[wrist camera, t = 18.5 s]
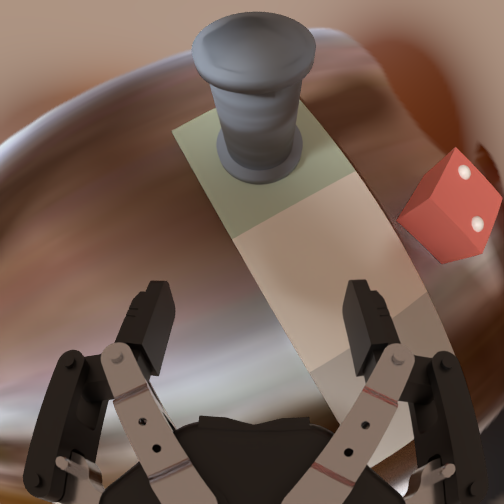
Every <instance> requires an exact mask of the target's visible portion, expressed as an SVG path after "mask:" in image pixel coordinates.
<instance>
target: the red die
mask: <svg viewBox="0 0 504 504" xmlns="http://www.w3.org/2000/svg"><path fill="white" fill-rule="evenodd" d="M501 201H502V197H501V196H500V194H499V193H498V192H497V191H496V190H495V188H494V187H493V186H492V185H491V184H490V183H489V181H488V180H487V179H486V178H485V177H484V176H483V175H482V174H481V173H480V171H479V170H478V169H477V168H476V167H475V166H474V165H473V164H472V163H471V162H470V161H469V160H468V159H467V158H466V157H465V156H464V155H463V154H462V153H461V152H460V151H459V150H458V149H457V148H456V147H455V148H454V149H453V150H452V151H451V152H450V153H449V154H447V155H446V156H445V157H444V158H443V159H442V160H441V161H440V162H438V163H437V164H436V165H435V166H434V167H433V168H432V169H431V170H429V171H428V172H427V173H426V174H425V175H424V176H423V178H422V179H421V181H420V183H419V184H418V186H417V188H416V189H415V191H414V193H413V194H412V196H411V198H410V199H409V201H408V203H407V204H406V206H405V207H404V209H403V211H402V212H401V214H400V215H399V217H398V218H397V220H396V221H397V222H398V223H400V224H401V225H402V226H403V227H404V228H405V229H406V230H407V231H408V232H409V233H410V234H411V235H413V236H414V237H415V238H416V239H417V240H418V241H419V242H420V243H421V244H422V245H423V246H424V247H425V248H426V249H427V250H428V251H429V252H430V253H431V254H432V255H433V256H434V257H435V258H436V259H437V260H438V261H439V262H440V263H441V264H444V263H448V262H452V261H456V260H460V259H464V258H468V257H472V256H476V255H479V254H482V253H483V250H484V248H485V246H486V243H487V241H488V238H489V236H490V233H491V230H492V228H493V225H494V222H495V219H496V217H497V214H498V211H499V208H500V205H501Z"/></svg>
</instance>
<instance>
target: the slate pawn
mask: <svg viewBox="0 0 504 504" xmlns="http://www.w3.org/2000/svg"><path fill="white" fill-rule="evenodd" d="M315 50H316V43H315V40H314V37H313V35H312V34H311V32H310V31H309V30H308V29H307V28H306V27H305V26H303V25H302V24H300V23H299V22H297V21H295V20H293V19H291V18H289V17H286V16H283V15H279V14H275V13H268V12H245V13H238V14H233V15H230V16H226V17H224V18H221V19H219V20H217V21H215V22H213V23H211V24H209V25H208V26H206V27H205V28H204V29H203V30H202V31H201V32H200V33H199V34H198V35H197V36H196V38H195V40H194V42H193V45H192V56H193V59H194V63H195V66H196V69H197V71H198V73H199V75H200V76H201V77H202V78H203V79H204V80H205V81H206V82H208V83H209V84H210V87H211V91H212V95H213V98H214V102H215V106H216V110H217V113H218V117H219V121H220V125H221V129H220V131H219V133H218V137H217V142H216V148H217V153H218V156H219V159H220V162H221V164H222V166H223V167H224V168H225V170H226V171H227V172H228V173H229V174H230V175H231V176H233V177H234V178H236V179H238V180H240V181H242V182H245V183H249V184H255V185H263V184H270V183H274V182H277V181H279V180H281V179H283V178H285V177H287V176H288V175H289V174H290V173H291V172H292V171H293V170H294V169H295V168H296V166H297V165H298V163H299V160H300V157H301V153H302V148H303V140H302V135H301V132H300V130H299V128H298V127H297V125H296V120H297V113H298V106H299V99H300V92H301V85H302V79H303V78H304V77H305V76H306V75H307V74H308V73H309V72H310V70H311V68H312V66H313V63H314V57H315Z"/></svg>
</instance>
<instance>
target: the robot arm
mask: <svg viewBox="0 0 504 504" xmlns="http://www.w3.org/2000/svg"><path fill="white" fill-rule="evenodd" d="M342 314H343V320H344V324H345V328H346V332H347V337H348V341H349V346H350V350H351V355H352V359H353V364H354V369H355V374H356V377H359V376H364V378H365V383H366V384H365V386H364V388H363V390H362V391H361V393H360V395H359V396H358V398H357V400H356V401H355V403H354V405H353V406H352V408H351V409H350V411H349V413H348V414H347V416H346V417H345V419H344V420H343V422H342V423H341V425H340V426H339V428H338V429H337V431H336V432H335V434H334V433H333V432H331V431H330V430H328V429H326V428H324V427H321V426H318V425H315V424H310V421H309V417H303V418H282V419H278V420H273V421H269V422H265V423H261V424H255V425H252V424H248V423H244V422H240V421H237V420H233V419H230V418H226V417H211V416H199V422H195V423H191V424H188V425H185V426H183V427H181V428H179V429H177V428H176V426H175V425H174V423H173V422H172V420H171V419H170V417H169V415H168V414H167V412H166V410H165V408H164V407H163V405H162V403H161V401H160V399H159V398H158V396H157V394H156V392H155V390H154V388H153V386H152V384H151V383H150V381H149V379H150V376H151V375H153V376H159V374H160V370H161V366H162V362H163V358H164V354H165V351H166V347H167V343H168V340H169V336H170V332H171V329H172V325H173V322H174V318H175V304H174V301H173V297H172V294H171V290H170V287H169V283H168V282H167V281H150V283H149V285H148V287H147V290H146V292H140V293H139V294H138V295H137V296H136V297H135V298H134V299H133V300H132V303H131V305H130V307H129V310H128V312H127V314H126V317H125V319H124V321H123V323H122V326H121V328H120V331H119V333H118V335H117V338H116V340H115V343H113V344H111V345H109V346H107V347H106V348H105V349H104V351H103V352H102V354H99V355H93V356H87V357H84V356H83V355H82V354H81V352H79V351H77V350H70V351H67V352H65V353H64V354H63V355H62V356H61V357H60V358H59V360H58V362H57V365H56V367H55V370H54V372H53V375H52V378H51V380H50V383H49V386H48V389H47V391H46V394H45V397H44V400H43V403H42V406H41V409H40V412H39V415H38V419H37V422H36V425H35V429H34V432H33V436H32V440H31V443H30V447H29V451H28V455H27V460H26V464H25V469H24V473H23V482H24V485H25V488H26V489H27V491H28V492H29V493H30V494H31V495H33V496H35V497H37V498H40V499H43V500H46V501H49V502H51V503H55V504H479V503H480V502H481V501H482V500H483V498H484V497H485V495H486V493H487V490H488V477H487V470H486V465H485V458H484V453H483V447H482V442H481V437H480V433H479V428H478V424H477V420H476V416H475V412H474V408H473V405H472V401H471V398H470V394H469V391H468V388H467V384H466V381H465V378H464V375H463V372H462V369H461V366H460V363H459V361H458V359H457V358H456V356H455V355H454V354H452V353H451V352H448V351H439V352H437V353H436V354H435V355H434V356H433V358H429V357H423V356H417V355H414V354H413V352H412V351H411V350H410V349H409V348H408V347H407V346H405V345H403V344H401V342H400V340H399V337H398V334H397V331H396V328H395V326H394V323H393V320H392V318H391V316H390V313H389V310H388V309H387V305H386V302H385V300H384V298H383V297H382V296H381V295H380V294H379V292H378V291H377V290H373V291H371V290H370V288H369V285H368V282H367V280H366V279H358V280H349V281H348V285H347V289H346V293H345V297H344V301H343V307H342ZM111 399H115V400H113V404H114V407H115V410H116V412H117V415H118V417H119V419H120V422H121V424H122V426H123V428H124V431H125V433H126V435H127V437H128V439H129V441H130V443H131V445H132V447H133V449H134V451H135V453H136V455H137V457H138V459H139V462H138V463H137V464H136V465H134V466H133V467H132V468H131V469H130V470H128V471H127V472H126V473H125V474H123V475H122V476H121V477H120V478H118V479H117V480H116V481H115V482H113V483H112V484H111V485H110V486H108V487H107V488H106V489H104V487H103V485H102V474H101V471H100V469H99V467H98V466H97V465H96V464H95V461H96V455H97V450H98V445H99V440H100V435H101V431H102V426H103V422H104V417H105V413H106V409H107V405H108V401H109V400H111ZM398 401H403V402H408V406H409V411H410V417H411V422H412V428H413V435H414V441H415V449H416V456H417V465H418V469H417V470H415V471H414V472H413V474H412V475H411V477H410V479H409V486H408V491H407V493H406V494H405V496H404V497H402V496H401V495H400V494H399V493H398V492H397V491H396V490H395V489H394V488H392V487H391V486H390V485H389V484H388V483H387V482H386V481H385V480H383V479H382V478H381V477H380V476H379V475H378V474H377V473H376V472H375V471H373V470H372V469H371V468H370V467H369V466H368V465H367V463H368V462H369V460H370V458H371V457H372V455H373V453H374V452H375V450H376V448H377V446H378V445H379V443H380V441H381V439H382V437H383V436H384V434H385V432H386V430H387V428H388V426H389V424H390V422H391V420H392V418H393V416H394V414H395V412H396V410H397V408H398Z"/></svg>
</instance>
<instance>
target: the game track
mask: <svg viewBox="0 0 504 504" xmlns="http://www.w3.org/2000/svg"><path fill="white" fill-rule="evenodd" d="M296 125H297V127H298V128H299V130H300V132H301V135H302V140H303V148H302V153H301V157H300V160H299V163H298V165H297V166H296V168H295V169H294V170H293V171H292V172H291V173H290V174H289V175H288V176H287V177H285V178H283V179H281V180H279V181H277V182H274V183H270V184H263V185H255V184H249V183H245V182H242V181H240V180H238V179H236V178H234V177H233V176H231V175H230V174H229V173H228V172H227V171H226V170H225V168H224V167H223V166H222V164H221V162H220V159H219V156H218V153H217V148H216V142H217V137H218V133H219V131H220V129H221V125H220V121H219V117H218V113H217V110H216V108H214V109H212V110H210V111H208V112H206V113H204V114H202V115H200V116H198V117H196V118H195V119H193V120H191V121H189V122H187V123H185V124H183V125H182V126H180V127H178V128H176V129H174V130H173V131H171V132H172V133H173V135H174V137H175V139H176V141H177V142H178V144H179V146H180V148H181V150H182V151H183V153H184V155H185V157H186V159H187V160H188V162H189V164H190V166H191V168H192V169H193V171H194V173H195V175H196V177H197V178H198V180H199V182H200V184H201V186H202V187H203V189H204V191H205V193H206V194H207V196H208V198H209V200H210V202H211V203H212V205H213V207H214V209H215V210H216V212H217V214H218V216H219V218H220V219H221V221H222V223H223V225H224V226H225V228H226V230H227V232H228V233H229V235H230V237H231V239H232V240H233V242H234V244H235V246H236V247H237V249H238V251H239V253H240V255H241V256H242V258H243V260H244V262H245V263H246V265H247V267H248V269H249V270H250V272H251V274H252V275H253V277H254V279H255V281H256V282H257V284H258V286H259V288H260V289H261V291H262V293H263V295H264V296H265V298H266V300H267V302H268V303H269V305H270V307H271V308H272V310H273V312H274V314H275V315H276V317H277V319H278V321H279V322H280V324H281V326H282V327H283V329H284V331H285V333H286V334H287V336H288V338H289V339H290V341H291V343H292V345H293V346H294V348H295V350H296V351H297V353H298V355H299V357H300V358H301V360H302V362H303V363H304V365H305V367H306V368H307V370H308V372H309V374H310V375H311V377H312V379H313V380H314V382H315V384H316V385H317V387H318V389H319V390H320V392H321V394H322V396H323V397H324V399H325V401H326V402H327V404H328V406H329V407H330V409H331V411H332V412H333V414H334V416H335V417H336V419H337V421H338V422H339V424H340V425H341V423H342V422H343V420H344V419H345V417H346V416H347V414H348V413H349V411H350V409H351V408H352V406H353V405H354V403H355V401H356V400H357V398H358V396H359V395H360V393H361V391H362V390H363V388H364V386H365V384H366V383H365V378H364V376H359V377H356V374H355V369H354V364H353V359H352V355H351V350H350V346H349V341H348V337H347V332H346V328H345V324H344V320H343V314H342V307H343V301H344V297H345V293H346V289H347V285H348V281H349V280H358V279H366V280H367V282H368V285H369V288H370V290H371V291H373V290H377V291H378V292H379V294H380V295H381V296H382V297H383V298H384V300H385V302H386V305H387V309H388V310H389V313H390V316H391V318H392V320H393V323H394V326H395V328H396V331H397V334H398V337H399V340H400V342H401V344H403V345H405V346H407V347H408V348H409V349H410V350H411V351H412V352H413V354H414V355H417V356H423V357H429V358H433V356H434V355H435V354H436V353H437V352H439V351H448V352H451V353H452V354H454V352H453V349H452V347H451V344H450V341H449V339H448V337H447V334H446V332H445V329H444V327H443V325H442V322H441V320H440V318H439V316H438V313H437V311H436V309H435V307H434V305H433V303H432V300H431V298H430V296H429V294H428V292H427V290H426V288H425V286H424V284H423V282H422V280H421V278H420V276H419V274H418V272H417V270H416V268H415V266H414V265H413V263H412V261H411V259H410V257H409V255H408V254H407V252H406V250H405V248H404V246H403V245H402V243H401V241H400V239H399V238H398V236H397V234H396V233H395V231H394V229H393V227H392V226H391V224H390V223H389V221H388V219H387V218H386V216H385V214H384V213H383V211H382V210H381V208H380V206H379V205H378V203H377V202H376V200H375V199H374V197H373V196H372V194H371V193H370V191H369V190H368V188H367V187H366V185H365V184H364V182H363V181H362V179H361V178H360V176H359V175H358V173H357V172H356V171H355V169H354V168H353V166H352V165H351V164H350V162H349V161H348V160H347V158H346V157H345V155H344V154H343V153H342V151H341V150H340V149H339V147H338V146H337V145H336V143H335V142H334V141H333V140H332V138H331V137H330V136H329V134H328V133H327V132H326V131H325V129H324V128H323V127H322V126H321V124H320V123H319V122H318V121H317V119H316V118H315V117H314V116H313V115H312V113H311V112H310V111H309V110H308V109H307V107H306V106H305V105H304V104H303V103H302V102H301V100H300V99H299V106H298V113H297V120H296ZM454 355H455V354H454ZM413 439H414V435H413V428H412V422H411V417H410V411H409V406H408V402H403V401H398V408H397V410H396V412H395V414H394V416H393V418H392V420H391V422H390V424H389V426H388V428H387V430H386V432H385V434H384V436H383V437H382V439H381V441H380V443H379V445H378V446H377V448H376V450H375V452H374V453H373V455H372V457H371V458H370V460H369V462H368V463H367V465H368V466H369V467H370V468H371V467H372V466H374V465H376V464H377V463H379V462H381V461H382V460H384V459H385V458H387V457H389V456H390V455H392V454H393V453H395V452H396V451H398V450H399V449H401V448H402V447H403V446H405V445H406V444H408V443H409V442H411V441H412V440H413Z"/></svg>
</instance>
